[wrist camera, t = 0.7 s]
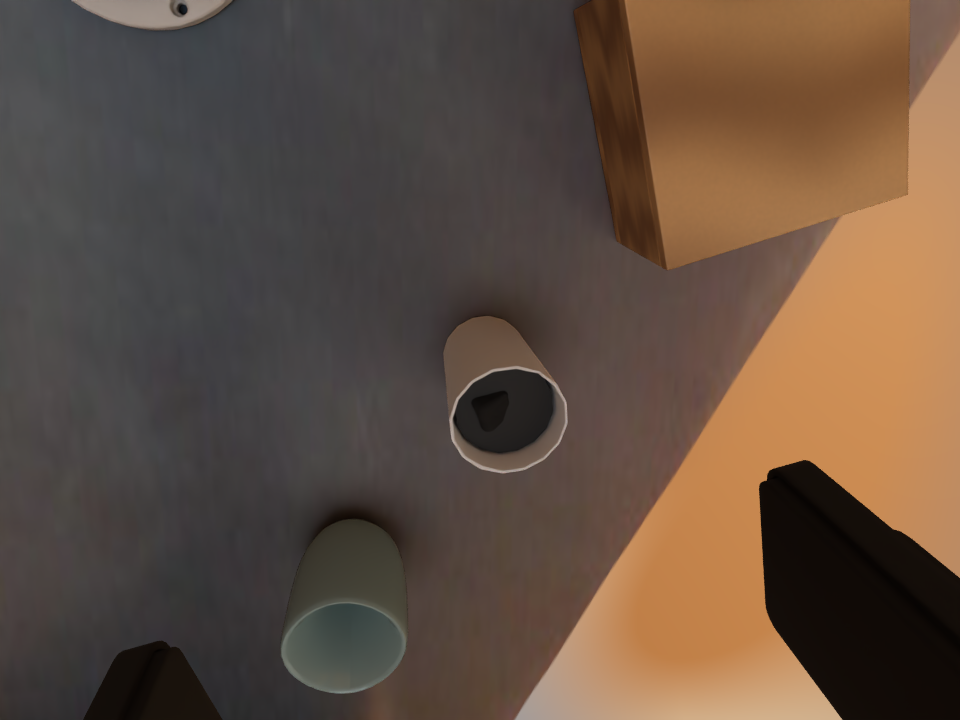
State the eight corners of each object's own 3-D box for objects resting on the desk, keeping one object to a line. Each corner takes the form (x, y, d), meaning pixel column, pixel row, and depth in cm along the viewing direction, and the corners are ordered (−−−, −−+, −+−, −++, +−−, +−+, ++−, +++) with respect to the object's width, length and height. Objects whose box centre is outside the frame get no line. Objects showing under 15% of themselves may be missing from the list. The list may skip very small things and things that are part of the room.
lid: (612, -34, 28) (655, -62, 23) (899, -121, 28) (996, -166, 24) (661, 267, 34) (703, 291, 29) (897, 193, 34) (975, 205, 30)
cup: (424, 537, 48) (432, 639, 39) (360, 599, 49) (352, 711, 40) (346, 484, 45) (334, 580, 36) (281, 551, 46) (253, 660, 37)
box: (572, 10, 35) (615, -14, 28) (802, -60, 35) (898, -101, 29) (616, 242, 41) (660, 267, 34) (814, 180, 41) (896, 193, 34)
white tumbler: (453, 409, 44) (468, 487, 35) (424, 327, 41) (432, 388, 32) (540, 381, 44) (579, 451, 35) (516, 297, 41) (552, 349, 32)
